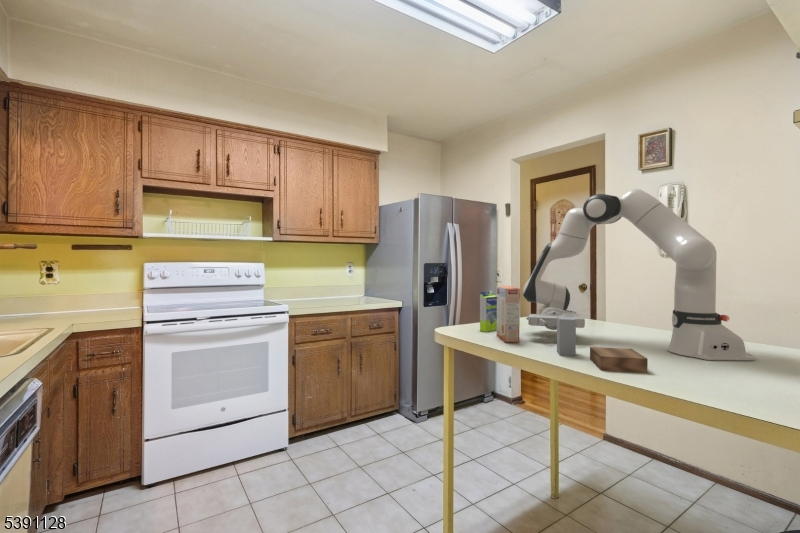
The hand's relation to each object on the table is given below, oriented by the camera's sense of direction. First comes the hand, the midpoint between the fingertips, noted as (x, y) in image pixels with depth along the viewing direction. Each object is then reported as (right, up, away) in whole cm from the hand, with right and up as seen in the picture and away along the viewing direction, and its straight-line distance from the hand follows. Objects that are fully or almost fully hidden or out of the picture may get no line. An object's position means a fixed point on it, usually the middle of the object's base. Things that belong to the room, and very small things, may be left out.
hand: (558, 324), depth 141 cm
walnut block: (+7, -8, -26) cm, 28 cm away
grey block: (-2, -8, -12) cm, 15 cm away
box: (-18, -7, +31) cm, 37 cm away
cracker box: (-15, -8, +12) cm, 21 cm away
